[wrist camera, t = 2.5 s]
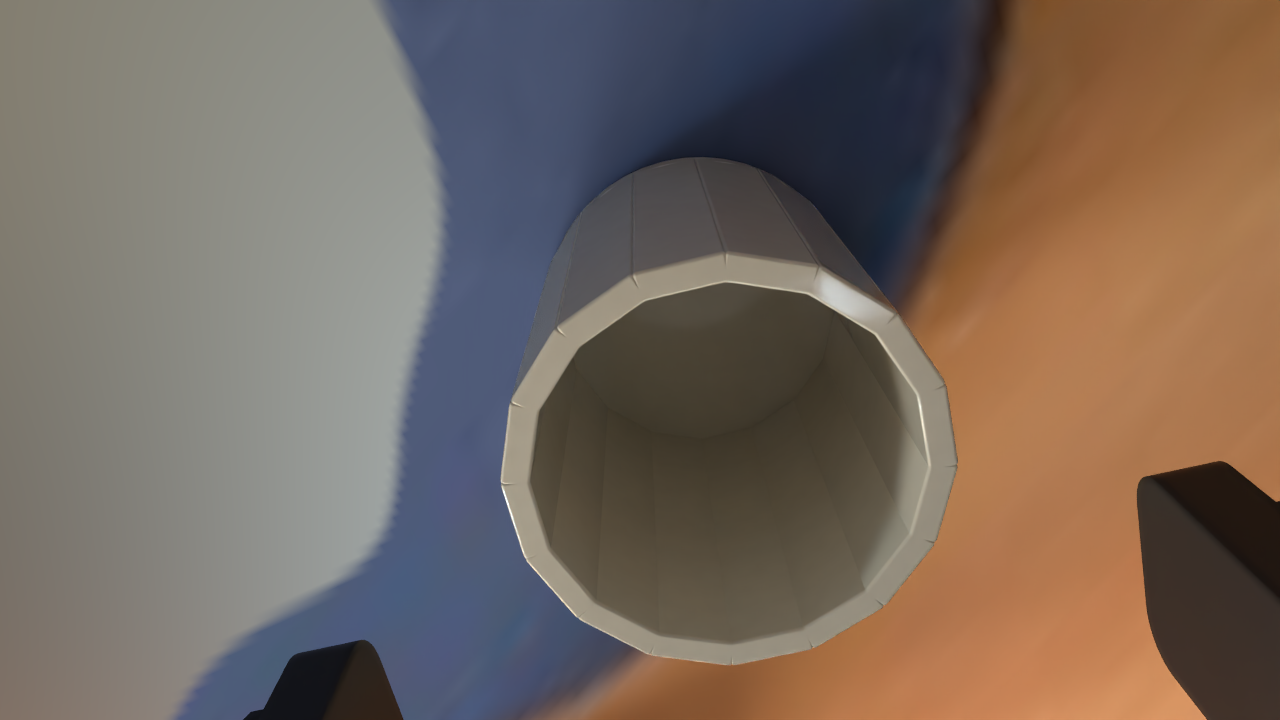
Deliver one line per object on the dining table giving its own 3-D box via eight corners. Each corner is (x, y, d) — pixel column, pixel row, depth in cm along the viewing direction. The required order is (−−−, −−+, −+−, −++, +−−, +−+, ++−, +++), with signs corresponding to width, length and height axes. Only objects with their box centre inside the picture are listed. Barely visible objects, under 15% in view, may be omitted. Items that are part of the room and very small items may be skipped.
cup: (511, 197, 20) (445, 318, 13) (817, 123, 20) (920, 205, 13) (590, 470, 22) (569, 700, 15) (869, 408, 22) (982, 615, 15)
